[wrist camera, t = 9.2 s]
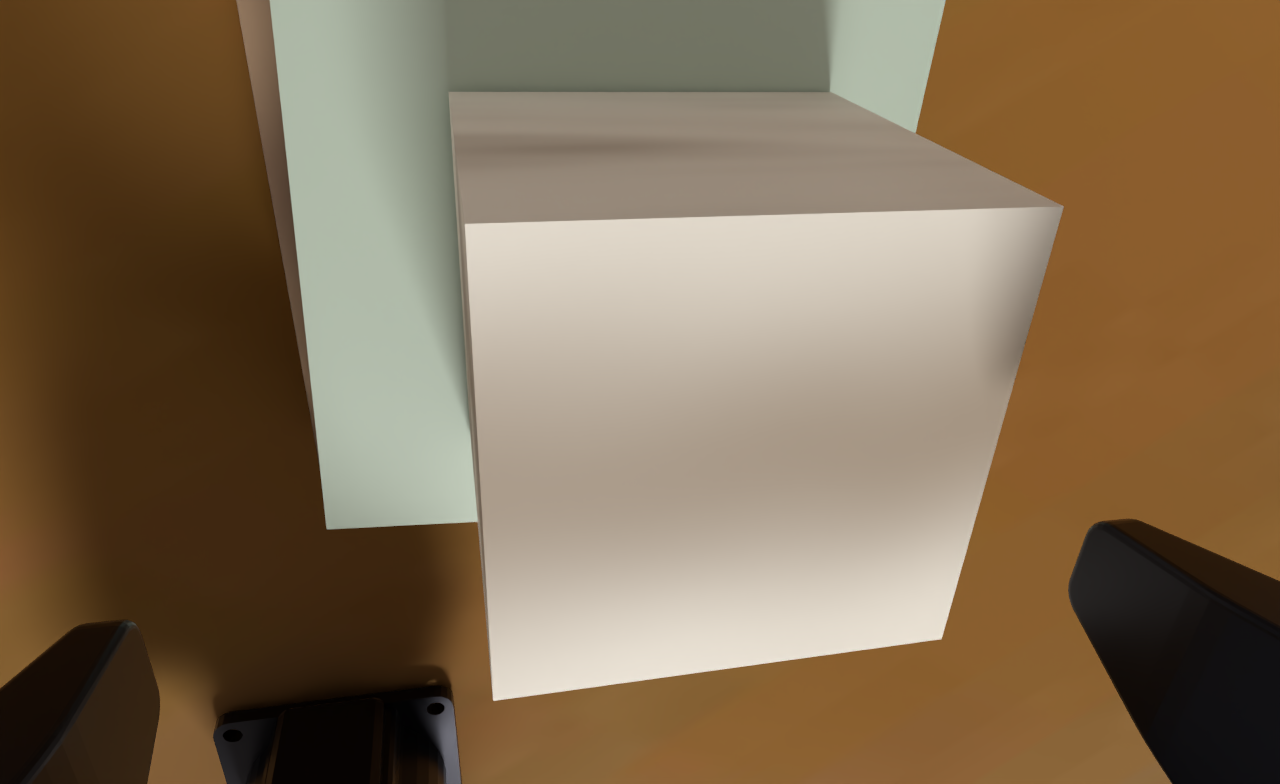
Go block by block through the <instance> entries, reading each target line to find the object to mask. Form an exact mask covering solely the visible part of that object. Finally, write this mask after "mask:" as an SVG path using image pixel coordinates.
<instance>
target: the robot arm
mask: <svg viewBox="0 0 1280 784" xmlns="http://www.w3.org/2000/svg"><path fill="white" fill-rule="evenodd" d="M1068 592H1069V599H1070V602H1071V605H1072V607H1073V610H1074V611H1075V613H1076V615H1077V617H1078V619H1079V621H1080V623H1081V625H1082V626H1083V628H1084V630H1085V632H1086V634H1087V636H1088V638H1089V640H1090V641H1091V643H1092V645H1093V647H1094V649H1095V651H1096V653H1097V655H1098V656H1099V658H1100V660H1101V662H1102V664H1103V666H1104V668H1105V669H1106V671H1107V673H1108V675H1109V677H1110V679H1111V681H1112V683H1113V684H1114V686H1115V688H1116V690H1117V692H1118V694H1119V696H1120V698H1121V699H1122V701H1123V703H1124V705H1125V707H1126V709H1127V711H1128V712H1129V714H1130V716H1131V718H1132V720H1133V722H1134V723H1135V725H1136V727H1137V729H1138V730H1139V732H1140V734H1141V736H1142V738H1143V739H1144V741H1145V743H1146V744H1147V746H1148V747H1149V749H1150V751H1151V752H1152V754H1153V755H1154V757H1155V759H1156V760H1157V762H1158V763H1159V765H1160V766H1161V768H1162V769H1163V771H1164V772H1165V774H1166V775H1167V777H1168V778H1169V780H1170V782H1171V783H1172V784H1280V581H1278V580H1276V579H1273V578H1271V577H1269V576H1266V575H1264V574H1262V573H1260V572H1257V571H1255V570H1253V569H1250V568H1248V567H1246V566H1243V565H1241V564H1239V563H1236V562H1234V561H1232V560H1230V559H1227V558H1225V557H1223V556H1220V555H1218V554H1216V553H1213V552H1211V551H1209V550H1206V549H1204V548H1202V547H1199V546H1197V545H1195V544H1193V543H1190V542H1188V541H1186V540H1183V539H1181V538H1179V537H1176V536H1174V535H1172V534H1169V533H1167V532H1165V531H1163V530H1160V529H1158V528H1156V527H1153V526H1151V525H1149V524H1146V523H1144V522H1142V521H1139V520H1135V519H1119V520H1109V521H1101V522H1098V523H1095V524H1094V525H1093V526H1092V527H1091V528H1090V529H1089V530H1088V532H1087V534H1086V536H1085V539H1084V542H1083V545H1082V547H1081V550H1080V553H1079V556H1078V558H1077V561H1076V564H1075V567H1074V569H1073V572H1072V575H1071V578H1070V581H1069V588H1068ZM432 703H439V704H432ZM159 712H160V697H159V690H158V686H157V682H156V679H155V676H154V673H153V670H152V667H151V663H150V660H149V657H148V654H147V651H146V647H145V644H144V641H143V638H142V635H141V632H140V630H139V628H138V627H137V625H136V624H135V623H134V622H132V621H129V620H115V621H105V622H95V623H86V624H82V625H79V626H77V627H75V628H73V629H72V630H70V631H69V632H67V633H66V634H65V635H64V636H63V637H61V638H60V639H59V640H58V641H57V642H55V643H54V644H53V645H52V646H51V647H49V648H48V649H47V650H46V651H45V652H43V653H42V654H41V655H40V656H39V657H37V658H36V659H35V660H34V661H33V662H31V663H30V664H29V665H28V666H27V667H25V668H24V669H23V670H22V671H21V672H19V673H18V674H17V675H16V676H15V677H13V678H12V679H11V680H10V681H9V682H7V683H6V684H5V685H4V686H3V687H1V688H0V784H147V781H148V776H149V770H150V765H151V759H152V754H153V748H154V743H155V737H156V731H157V726H158V720H159ZM231 729H236V730H231ZM213 738H214V742H215V745H216V748H217V752H218V755H219V759H220V762H221V765H222V769H223V772H224V775H225V779H226V782H227V784H462V780H461V770H460V760H459V749H458V739H457V729H456V719H455V709H454V699H453V694H452V692H451V691H450V690H449V689H448V688H446V687H443V686H430V687H422V688H414V689H406V690H399V691H391V692H383V693H375V694H367V695H359V696H352V697H344V698H336V699H328V700H320V701H312V702H305V703H297V704H289V705H281V706H273V707H265V708H258V709H250V710H242V711H234V712H229V713H226V714H224V715H222V716H221V717H219V719H218V720H217V722H216V726H215V730H214V734H213Z"/></svg>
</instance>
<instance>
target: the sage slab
mask: <svg viewBox="0 0 1280 784" xmlns="http://www.w3.org/2000/svg"><path fill="white" fill-rule="evenodd" d="M945 1H946V0H270V8H271V18H272V27H273V36H274V45H275V55H276V64H277V73H278V83H279V92H280V101H281V110H282V120H283V129H284V138H285V148H286V157H287V166H288V175H289V185H290V194H291V203H292V213H293V222H294V231H295V241H296V250H297V259H298V268H299V278H300V287H301V296H302V306H303V315H304V324H305V333H306V343H307V352H308V361H309V371H310V380H311V389H312V398H313V408H314V417H315V426H316V436H317V445H318V454H319V464H320V473H321V482H322V491H323V501H324V510H325V519H326V529H346V528H365V527H385V526H404V525H424V524H443V523H463V522H478V519H477V507H476V496H475V484H474V472H473V461H472V449H471V437H470V421H469V406H468V390H467V375H466V359H465V343H464V328H463V312H462V297H461V281H460V265H459V250H458V234H457V219H456V203H455V187H454V172H453V156H452V141H451V125H450V109H449V94H448V92H832V93H834V94H836V95H838V96H840V97H842V98H844V99H846V100H848V101H850V102H852V103H854V104H857V105H859V106H861V107H863V108H865V109H867V110H869V111H871V112H873V113H875V114H877V115H879V116H881V117H883V118H885V119H887V120H889V121H891V122H893V123H895V124H897V125H899V126H901V127H903V128H905V129H907V130H909V131H911V132H913V133H915V132H916V128H917V124H918V119H919V115H920V110H921V106H922V102H923V97H924V93H925V88H926V84H927V80H928V75H929V71H930V66H931V62H932V58H933V53H934V49H935V45H936V40H937V36H938V31H939V27H940V23H941V18H942V14H943V9H944V5H945Z"/></svg>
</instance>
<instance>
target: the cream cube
mask: <svg viewBox="0 0 1280 784" xmlns="http://www.w3.org/2000/svg"><path fill="white" fill-rule="evenodd" d="M448 94H449V109H450V125H451V141H452V156H453V172H454V187H455V203H456V219H457V234H458V250H459V265H460V281H461V297H462V312H463V328H464V343H465V359H466V375H467V390H468V406H469V421H470V437H471V449H472V461H473V472H474V484H475V496H476V507H477V519H478V531H479V542H480V554H481V565H482V577H483V589H484V600H485V612H486V623H487V635H488V647H489V658H490V670H491V682H492V693H493V701H496V700H503V699H510V698H518V697H525V696H532V695H539V694H547V693H554V692H561V691H568V690H576V689H583V688H590V687H597V686H605V685H612V684H619V683H626V682H634V681H641V680H648V679H655V678H663V677H670V676H677V675H684V674H692V673H699V672H706V671H713V670H721V669H728V668H735V667H742V666H750V665H757V664H764V663H771V662H779V661H786V660H793V659H800V658H808V657H815V656H822V655H829V654H837V653H844V652H851V651H858V650H866V649H873V648H880V647H887V646H895V645H902V644H909V643H916V642H924V641H931V640H938V639H942V636H943V632H944V628H945V625H946V621H947V618H948V614H949V611H950V607H951V604H952V600H953V597H954V593H955V589H956V586H957V582H958V579H959V575H960V572H961V568H962V565H963V561H964V558H965V554H966V551H967V547H968V543H969V540H970V536H971V533H972V529H973V526H974V522H975V519H976V515H977V512H978V508H979V504H980V501H981V497H982V494H983V490H984V487H985V483H986V480H987V476H988V473H989V469H990V466H991V462H992V458H993V455H994V451H995V448H996V444H997V441H998V437H999V434H1000V430H1001V427H1002V423H1003V419H1004V416H1005V412H1006V409H1007V405H1008V402H1009V398H1010V395H1011V391H1012V388H1013V384H1014V380H1015V377H1016V373H1017V370H1018V366H1019V363H1020V359H1021V356H1022V352H1023V349H1024V345H1025V342H1026V338H1027V334H1028V331H1029V327H1030V324H1031V320H1032V317H1033V313H1034V310H1035V306H1036V303H1037V299H1038V295H1039V292H1040V288H1041V285H1042V281H1043V278H1044V274H1045V271H1046V267H1047V264H1048V260H1049V257H1050V253H1051V249H1052V246H1053V242H1054V239H1055V235H1056V232H1057V228H1058V225H1059V221H1060V218H1061V214H1062V210H1063V207H1064V206H1062V205H1060V204H1058V203H1056V202H1053V201H1051V200H1049V199H1047V198H1045V197H1043V196H1041V195H1039V194H1037V193H1035V192H1033V191H1031V190H1029V189H1027V188H1025V187H1023V186H1021V185H1019V184H1017V183H1015V182H1013V181H1011V180H1009V179H1007V178H1005V177H1003V176H1001V175H999V174H997V173H995V172H993V171H991V170H989V169H986V168H984V167H982V166H980V165H978V164H976V163H974V162H972V161H970V160H968V159H966V158H964V157H962V156H960V155H958V154H956V153H954V152H952V151H950V150H948V149H946V148H944V147H942V146H940V145H938V144H936V143H934V142H932V141H930V140H928V139H926V138H924V137H921V136H919V135H917V134H915V133H913V132H911V131H909V130H907V129H905V128H903V127H901V126H899V125H897V124H895V123H893V122H891V121H889V120H887V119H885V118H883V117H881V116H879V115H877V114H875V113H873V112H871V111H869V110H867V109H865V108H863V107H861V106H859V105H857V104H854V103H852V102H850V101H848V100H846V99H844V98H842V97H840V96H838V95H836V94H834V93H832V92H448Z"/></svg>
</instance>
